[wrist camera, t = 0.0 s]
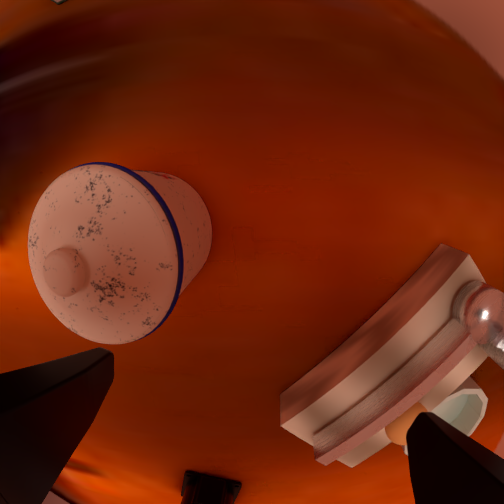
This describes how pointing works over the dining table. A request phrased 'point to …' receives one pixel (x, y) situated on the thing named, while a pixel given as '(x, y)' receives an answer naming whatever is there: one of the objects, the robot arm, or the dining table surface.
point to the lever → (421, 370)
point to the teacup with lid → (116, 249)
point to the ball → (403, 424)
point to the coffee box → (58, 1)
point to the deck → (384, 353)
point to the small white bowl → (462, 408)
